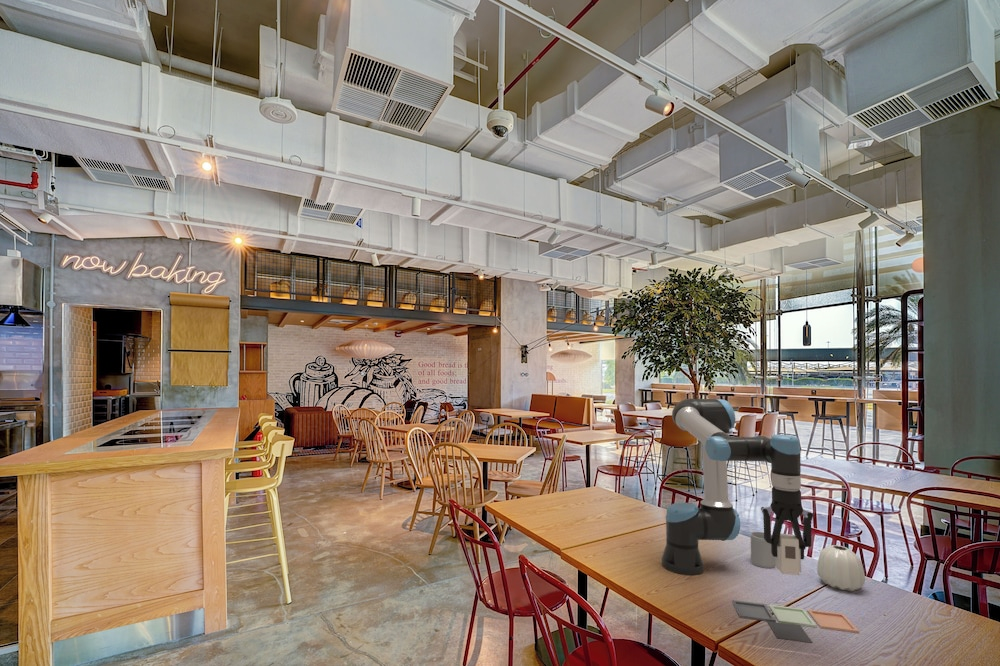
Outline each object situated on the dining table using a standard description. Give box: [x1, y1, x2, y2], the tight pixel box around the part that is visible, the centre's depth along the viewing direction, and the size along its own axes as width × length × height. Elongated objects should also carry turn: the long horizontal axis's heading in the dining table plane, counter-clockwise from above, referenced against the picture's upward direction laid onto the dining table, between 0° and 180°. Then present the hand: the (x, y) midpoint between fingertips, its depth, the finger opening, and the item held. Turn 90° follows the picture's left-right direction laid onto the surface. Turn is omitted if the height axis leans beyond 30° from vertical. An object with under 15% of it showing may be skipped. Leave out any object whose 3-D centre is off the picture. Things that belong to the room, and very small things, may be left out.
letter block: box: [778, 533, 800, 576], centre depth 140 cm, size 4×5×10 cm
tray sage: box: [768, 604, 818, 629], centre depth 148 cm, size 10×10×1 cm
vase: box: [816, 544, 866, 592], centre depth 171 cm, size 14×14×13 cm
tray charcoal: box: [731, 599, 777, 622], centre depth 150 cm, size 10×10×1 cm
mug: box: [750, 531, 776, 569], centre depth 190 cm, size 12×8×11 cm
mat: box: [766, 621, 813, 644], centre depth 139 cm, size 9×9×1 cm
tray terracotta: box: [806, 609, 860, 634], centre depth 145 cm, size 10×10×1 cm
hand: (787, 568), depth 140 cm, fingers closed on letter block, 4 cm apart
